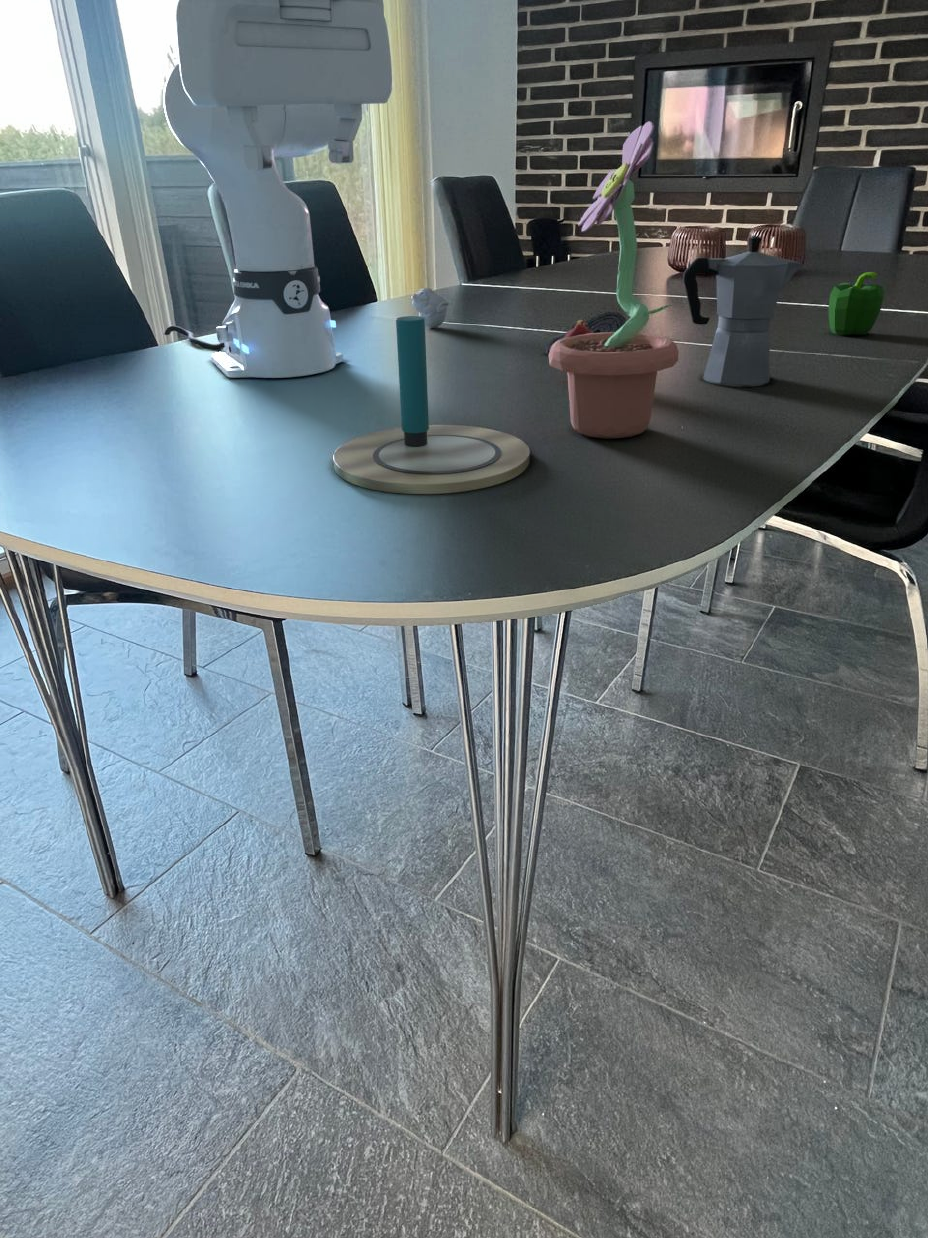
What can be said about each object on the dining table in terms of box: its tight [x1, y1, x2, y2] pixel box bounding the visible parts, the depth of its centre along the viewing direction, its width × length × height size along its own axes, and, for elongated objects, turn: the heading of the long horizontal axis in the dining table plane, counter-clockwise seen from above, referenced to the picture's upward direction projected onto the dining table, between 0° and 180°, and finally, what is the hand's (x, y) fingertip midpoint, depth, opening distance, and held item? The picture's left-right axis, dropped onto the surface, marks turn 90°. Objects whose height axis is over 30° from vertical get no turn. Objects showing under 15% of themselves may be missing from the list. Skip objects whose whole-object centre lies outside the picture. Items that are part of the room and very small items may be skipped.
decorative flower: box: [548, 120, 679, 440], centre depth 88 cm, size 15×14×30 cm
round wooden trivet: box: [332, 424, 531, 495], centre depth 85 cm, size 20×20×1 cm
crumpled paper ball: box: [411, 287, 450, 329], centre depth 155 cm, size 6×7×7 cm
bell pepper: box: [828, 271, 885, 337], centre depth 141 cm, size 8×8×10 cm
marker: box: [395, 315, 430, 447], centre depth 84 cm, size 3×3×12 cm
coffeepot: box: [682, 235, 803, 388], centre depth 111 cm, size 15×9×18 cm, turn 92°
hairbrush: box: [545, 307, 627, 357], centre depth 140 cm, size 8×4×25 cm
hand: (302, 165), depth 74 cm, fingers open, 8 cm apart
